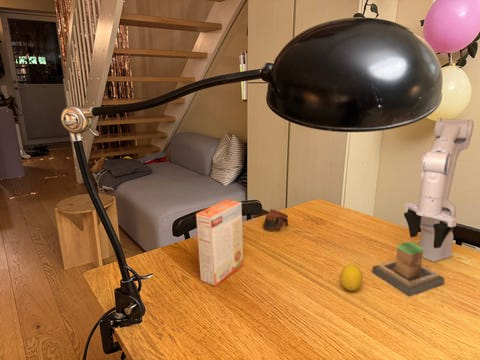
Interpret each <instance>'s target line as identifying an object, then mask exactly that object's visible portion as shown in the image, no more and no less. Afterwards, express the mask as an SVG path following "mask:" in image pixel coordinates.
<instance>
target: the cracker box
mask: <svg viewBox="0 0 480 360" xmlns="http://www.w3.org/2000/svg"><path fill="white" fill-rule="evenodd" d="M242 203H243V202H241V201H237V200H233V199H227V198H226V199H224V200H223V201H220V202H218V203H216V204H214V205H211V206H209V207H208V208H205V209H203V210H201V211H198V212H197V213H196V214H195V215H196V216H195V217H196V218H195V219H196V234H197V245H198V246H197V247H198V249H197V250H198V261H199V262H198V263H199V277H200V281H201V282H204V283H206V284H208V285H211V286H212V287H217V286H218V285H219V284H221V282H224V280H226V279H228V277H230V276H231V275H233V274H234V273H235V272H236V271H237V270H239V269H240V268H242V267H243V266H244V247H243V246H244V245H243V244H244V243H243V241H244V240H243V215H242V214H243V213H242V210H243V206H242Z"/></svg>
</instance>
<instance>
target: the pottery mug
mask: <svg viewBox="0 0 480 360" xmlns="http://www.w3.org/2000/svg"><path fill="white" fill-rule="evenodd" d="M288 217H289V215H287V214H286V213H284V212H282V211H279V210H275V209H271V208H270V210H269V212H267V213H266V214H265V219H264V222H263V223H262V229H264V230H265V231H267V232H271V233H273V232H274V230H276V231H277V232H279V231H281V229H282V227H283V225H284V224H285V227H288V225H289V220H288Z"/></svg>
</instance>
